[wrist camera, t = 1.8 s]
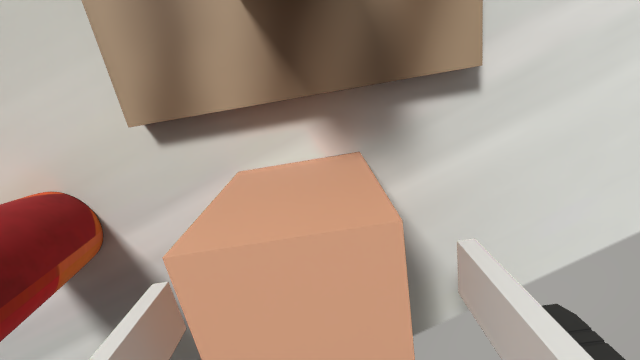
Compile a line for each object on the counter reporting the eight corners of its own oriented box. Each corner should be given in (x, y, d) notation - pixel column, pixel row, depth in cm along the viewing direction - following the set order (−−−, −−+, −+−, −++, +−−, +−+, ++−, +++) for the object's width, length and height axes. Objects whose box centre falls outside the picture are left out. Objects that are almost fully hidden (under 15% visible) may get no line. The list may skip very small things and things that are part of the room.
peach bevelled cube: (265, 274, 22) (225, 422, 12) (238, 172, 19) (162, 257, 10) (373, 258, 21) (418, 397, 12) (359, 151, 19) (402, 220, 10)
